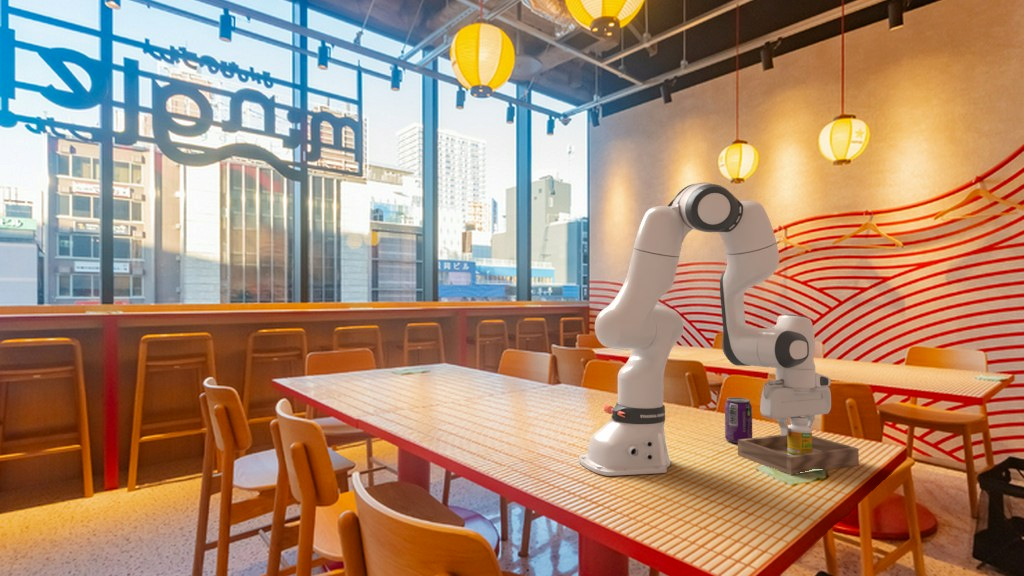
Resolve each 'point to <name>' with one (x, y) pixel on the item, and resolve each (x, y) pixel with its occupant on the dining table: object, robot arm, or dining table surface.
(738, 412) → the beverage can
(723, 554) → the dining table surface
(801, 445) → the supplement bottle
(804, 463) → the serving tray
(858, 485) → the dining table surface
